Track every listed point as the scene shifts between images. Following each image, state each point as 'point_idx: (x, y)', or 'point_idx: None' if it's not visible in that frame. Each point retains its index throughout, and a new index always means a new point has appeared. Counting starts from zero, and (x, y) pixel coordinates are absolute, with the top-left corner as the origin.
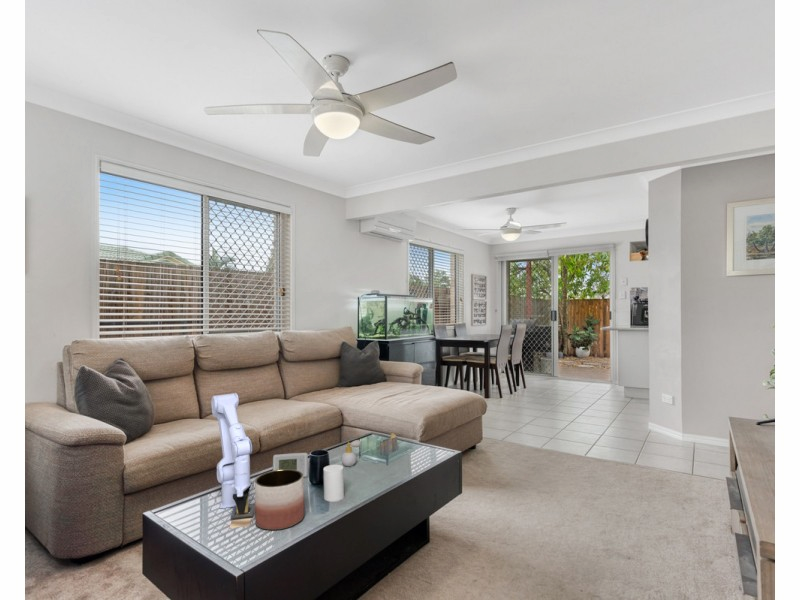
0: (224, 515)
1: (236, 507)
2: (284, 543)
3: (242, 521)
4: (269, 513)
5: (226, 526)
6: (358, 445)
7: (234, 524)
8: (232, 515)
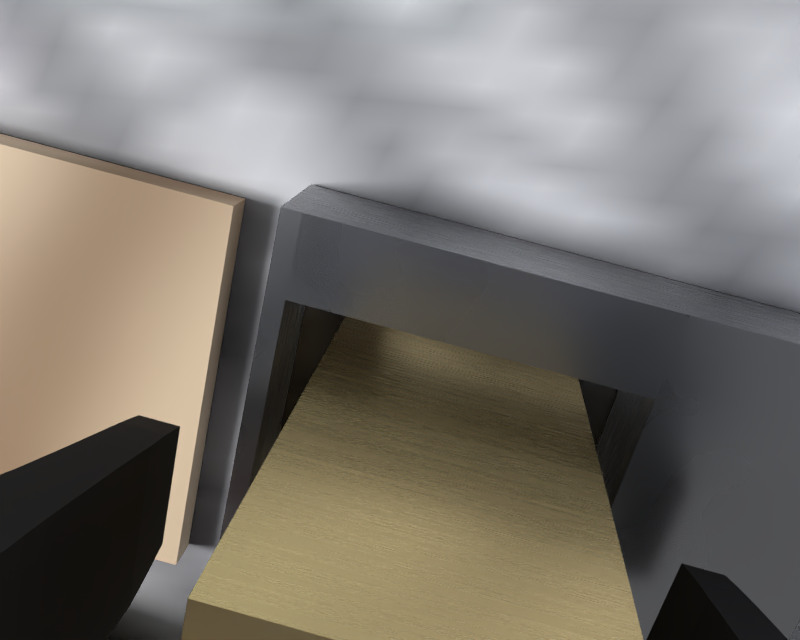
0: (726, 75)
1: (277, 440)
2: None
3: (89, 400)
4: None
5: (78, 66)
6: None
7: (3, 237)
8: (298, 256)
